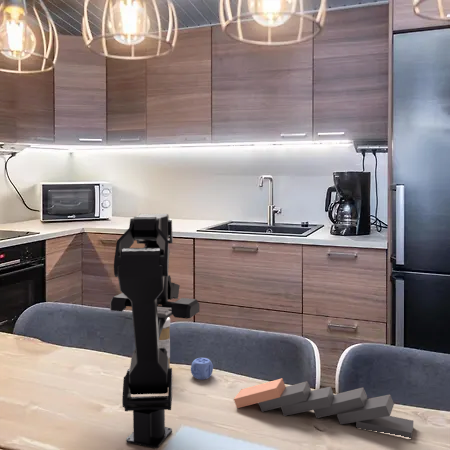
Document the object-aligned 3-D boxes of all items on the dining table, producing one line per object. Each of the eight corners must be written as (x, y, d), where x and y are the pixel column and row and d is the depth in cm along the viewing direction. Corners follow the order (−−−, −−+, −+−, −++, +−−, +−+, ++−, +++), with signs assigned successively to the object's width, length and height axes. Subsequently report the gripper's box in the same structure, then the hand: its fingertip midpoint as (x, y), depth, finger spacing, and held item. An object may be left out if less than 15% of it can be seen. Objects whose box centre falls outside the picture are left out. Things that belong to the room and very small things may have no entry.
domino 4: (321, 407, 101) (367, 396, 97) (316, 418, 96) (364, 407, 92) (318, 398, 101) (363, 387, 97) (312, 408, 96) (360, 397, 93)
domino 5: (346, 413, 98) (394, 404, 94) (340, 424, 94) (390, 415, 89) (342, 403, 98) (390, 394, 94) (336, 414, 94) (385, 405, 89)
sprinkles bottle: (152, 366, 122) (152, 315, 121) (170, 366, 123) (170, 315, 122) (151, 374, 118) (151, 320, 117) (170, 373, 118) (170, 320, 117)
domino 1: (244, 397, 105) (285, 387, 102) (237, 408, 101) (279, 397, 97) (241, 389, 105) (282, 378, 102) (233, 399, 101) (276, 387, 97)
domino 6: (360, 419, 97) (413, 430, 93) (356, 430, 93) (411, 443, 89) (360, 409, 97) (413, 420, 93) (356, 420, 93) (411, 432, 88)
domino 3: (289, 405, 102) (334, 395, 99) (284, 415, 98) (331, 406, 94) (285, 396, 102) (330, 386, 99) (280, 406, 98) (327, 396, 94)
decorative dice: (204, 381, 114) (204, 365, 114) (190, 377, 116) (190, 361, 116) (213, 375, 118) (213, 359, 117) (199, 371, 120) (199, 356, 119)
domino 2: (268, 401, 104) (310, 390, 100) (261, 411, 99) (306, 400, 95) (264, 392, 104) (307, 381, 100) (258, 402, 99) (302, 391, 95)
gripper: (208, 268, 106) (208, 337, 108) (134, 263, 112) (135, 328, 114) (188, 278, 96) (189, 354, 97) (108, 272, 102) (109, 343, 103)
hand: (154, 343), depth 103 cm, fingers closed
